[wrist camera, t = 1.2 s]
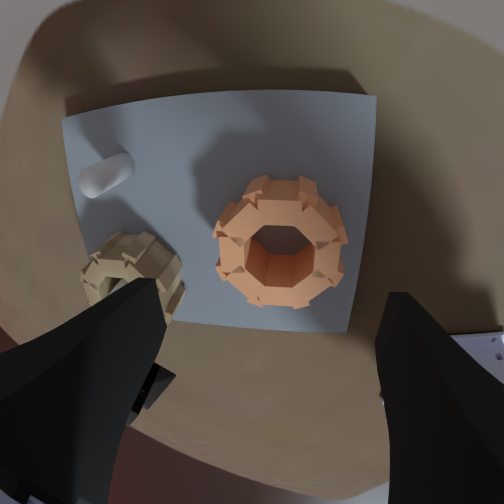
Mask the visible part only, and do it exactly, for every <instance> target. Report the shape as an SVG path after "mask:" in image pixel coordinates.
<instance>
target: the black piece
mask: <svg viewBox="0 0 504 504" xmlns="http://www.w3.org/2000/svg"><path fill="white" fill-rule="evenodd" d="M175 377H176V375H175V374H174V373H172V372H170V371H169V370H167V369H165V368H163V367H162V366H160V365H158V364H156V363H155V362H154V363H153V365H152V367H151V369H150V371H149V373H148V375H147V377H146V379H145V381H144V383H143V385H142V387H141V389H140V391H139V393H138V395H137V397H136V399H135V402H134V404H133V406H132V408H131V411H130V413H129V415H128V418H127V421H126V424H128V425H130V424H131V423H132V422H133V421H134V420H135V418H136V417H137V416H138V415H139V413H140V411H141V409H142V407H143V408H145V409H149V408H150V407H151V405H152V404H153V403H154V402H155V401H156V400H157V398H158V397H159V396H160V395H161V394H162V392H163V391H164V390H165V389H166V388H167V386H168V385H169V384H170V383H171V382H172V380H173V379H174V378H175Z"/></svg>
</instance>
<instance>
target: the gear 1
mask: <svg viewBox="0 0 504 504" xmlns="http://www.w3.org/2000/svg"><path fill="white" fill-rule="evenodd" d="M90 257H91V258H92V261H91V262H90V263H89V264H88V265H86V266H85V267H84V268H83V269H82V270H81V282H83V285H84V288H85V291H86V294H87V296H88V299H89V302H88V303H89V304H90V305H91V306H93V305H94V304H96V303H97V302H99V301H101V300H102V299H104V298H105V297H107V296H108V295H109V293H110V292H111V291H112V290H113V288H114V287H115V286H116V285H117V284H118V282H119V281H120V280H121V279H122V278H124V279H125V280H126V281H128V282H131V281H132V280H134V279H136V278H138V277H143V278H154V279H155V280H156V284H157V288H158V293H159V297H160V301H161V305H162V309H163V313H164V317H165V321H166V323H167V324H170V322H171V320H172V318H173V316H174V315H175V313H176V311H177V309H178V307H179V305H180V303H181V302H182V300H183V298H184V295H185V292H186V287H183V286H182V281H181V275H180V270H181V268H182V267H183V265H182V263H181V262H180V260H179V258H178V256H177V255H172V254H171V253H170V252H169V251H168V250H167V249H166V248H165V247H163V246H162V245H161V244H160V243H159V242H158V241H157V240H156V236H154V235H152V234H150V233H147V232H145V231H143V232H142V233H141V234H140V235H131V234H123V232H122V231H120V232H117V233H115V234H113V235H112V236H111V237H110V238H109V239H107V240H106V241H105V242H104V243H103V244H102V245H101V246H100V247H98V248H97V249H96V250H95V251H94V252H93V253H92V254H91V255H90Z"/></svg>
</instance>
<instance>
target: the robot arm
mask: <svg viewBox="0 0 504 504" xmlns="http://www.w3.org/2000/svg"><path fill="white" fill-rule="evenodd" d="M166 328H167V325H166V321H165V317H164V313H163V309H162V305H161V301H160V297H159V293H158V288H157V284H156V280H155V279H154V278H143V277H138V278H136V279H134V280H132V281H131V282H129V283H127V284H126V285H124V286H122V287H121V288H119V289H118V290H116V291H114V292H113V293H111V294H110V295H108V296H107V297H105V298H104V299H102V300H101V301H99V302H97V303H96V304H94V305H93V306H91V307H90V308H88V309H87V310H85V311H83V312H82V313H80V314H78V315H77V316H75V317H73V318H72V319H70V320H68V321H67V322H65V323H64V324H62V325H60V326H58V327H57V328H55V329H53V330H51V331H49V332H47V333H45V334H43V335H41V336H39V337H37V338H35V339H33V340H31V341H29V342H27V343H24V344H22V345H19V346H17V347H14V348H12V349H10V350H7V351H5V352H2V353H0V504H108V496H109V489H110V483H111V478H112V473H113V468H114V463H115V459H116V455H117V451H118V448H119V443H120V440H121V437H122V434H123V431H124V427H125V425H126V421H127V418H128V415H129V413H130V411H131V408H132V406H133V404H134V402H135V399H136V397H137V395H138V393H139V391H140V389H141V387H142V385H143V383H144V381H145V379H146V377H147V375H148V373H149V371H150V369H151V367H152V365H153V363H154V361H155V359H156V357H157V354H158V352H159V349H160V346H161V344H162V341H163V338H164V334H165V331H166ZM503 343H504V332H493V333H481V334H468V335H451V336H450V335H449V334H448V333H447V332H446V331H445V330H444V329H443V328H442V327H441V326H440V325H439V324H438V323H437V321H436V320H435V319H434V318H433V317H432V316H431V315H430V314H429V313H428V312H427V311H426V310H425V309H424V308H423V307H422V306H421V305H420V304H419V303H418V302H417V301H416V300H415V299H414V298H413V297H412V296H411V295H410V294H409V293H408V292H389V295H388V299H387V302H386V306H385V310H384V313H383V316H382V320H381V323H380V327H379V330H378V333H377V336H376V339H375V349H376V361H377V371H378V376H379V381H380V386H381V391H382V396H383V398H382V404H384V407H385V412H386V418H387V424H388V431H389V440H390V484H389V498H388V504H504V345H503Z"/></svg>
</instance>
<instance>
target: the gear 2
mask: <svg viewBox="0 0 504 504" xmlns="http://www.w3.org/2000/svg"><path fill="white" fill-rule="evenodd" d="M242 197H243V198H242V199H241V200H240V201H239V202H238V203H235V202H232V201H230V202H229V204H228V205H227V207H226V208H225V210H224V212H223V213H222V215H221V216H220V218H219V219H218V221H217V224H216V226H215V229H214V232H213V235H212V237H214V238H217V239H219V250H220V257H219V259H218V261H217V264H216V266H215V268H216V270H217V272H218V274H219V276H220V277H221V279H222V281H225V280H228V281H229V282H230V283H231V284H232V285H233V286H234V287H236V288H237V289H238V290H239V291H240V292H241V293H243V294H244V295H245V296H246V297H247V301H246V302H249V303H252V304H254V305H257V306H259V307H263V305H275V306H292V307H293V309H298V308H302V307H306V306H309V305H310V300H311V299H313V298H314V297H316V296H317V295H318V294H320V293H321V292H323V291H324V290H326V289H327V288H328V287H330V286H333V287H335V288H336V286H337V285H338V283H339V282H340V280H341V278H342V277H343V275H344V270H343V265H342V260H341V255H340V250H341V245H344V244H347V243H349V242H348V239H347V235H346V232H345V228H344V225H343V222H342V219H341V216H340V213H339V210H338V207H337V205H335V206H332V207H330V206H329V205H328V204H327V203H326V202H325V201H324V200H323V199H322V198H321V197H320V195H319V194H318V192H317V186H316V182H315V181H312V180H310V179H308V178H306V177H304V176H301V175H300V176H299V178H298V181H287V180H270V179H269V177H268V174H266V175H263V176H261V177H258V178H255V179H253V180H251V182H250V184H249V185H248V187H247V189H246V191H245V192H244V194H243V196H242ZM264 225H279V226H295V227H296V228H297V229H298V230H299V231H300V232H301V233H302V234H303V235H304V236H305V237H306V238H307V239H308V240H309V241H310V243H309V244H308V245H307V246H305V247H304V248H303V249H302V250H300V251H299V252H298V253H297V254H295V255H276V254H270V253H269V252H268V251H267V250H266V249H265V248H264V247H263V246H262V245H260V244H259V243H258V242H257V241H256V240H255V239H254V234H255V233H256V232H257V231H258V230H259V229H260V228H261V227H262V226H264Z"/></svg>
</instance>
